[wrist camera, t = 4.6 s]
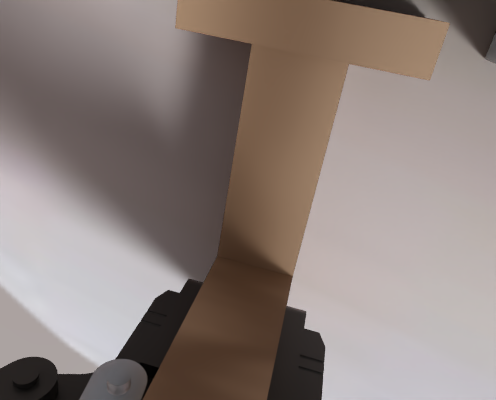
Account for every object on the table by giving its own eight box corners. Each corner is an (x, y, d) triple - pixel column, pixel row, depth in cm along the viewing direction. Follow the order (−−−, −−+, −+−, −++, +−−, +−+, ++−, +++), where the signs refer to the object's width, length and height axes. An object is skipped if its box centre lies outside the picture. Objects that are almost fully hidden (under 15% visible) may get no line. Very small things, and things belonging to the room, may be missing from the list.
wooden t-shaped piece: (427, 18, 12) (595, 54, 4) (323, 333, 17) (299, 632, 9) (216, -22, 12) (-26, -64, 4) (178, 292, 18) (36, 536, 10)
